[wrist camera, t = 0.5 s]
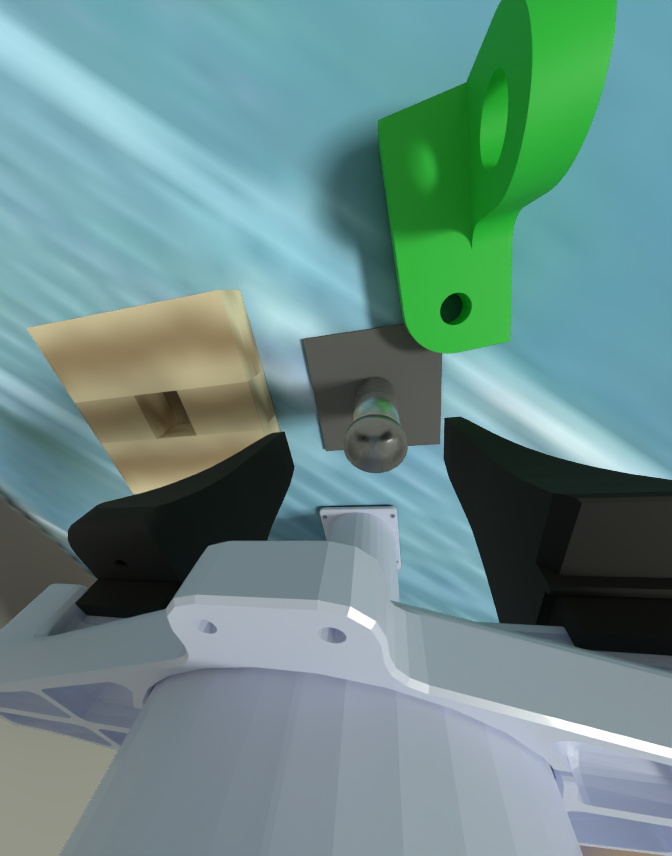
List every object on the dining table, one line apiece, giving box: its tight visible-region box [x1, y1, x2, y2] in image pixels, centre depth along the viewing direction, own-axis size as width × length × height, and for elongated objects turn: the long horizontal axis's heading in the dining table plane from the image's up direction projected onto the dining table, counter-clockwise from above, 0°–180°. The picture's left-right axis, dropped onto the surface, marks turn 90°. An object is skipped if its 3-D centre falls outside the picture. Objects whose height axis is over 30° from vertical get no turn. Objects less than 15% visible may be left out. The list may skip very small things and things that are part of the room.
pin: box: [344, 377, 408, 473], centre depth 18 cm, size 3×3×8 cm
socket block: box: [27, 290, 280, 494], centre depth 23 cm, size 16×16×3 cm
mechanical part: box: [378, 0, 616, 353], centre depth 13 cm, size 12×6×8 cm, turn 14°
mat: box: [303, 319, 443, 451], centre depth 21 cm, size 10×10×1 cm
